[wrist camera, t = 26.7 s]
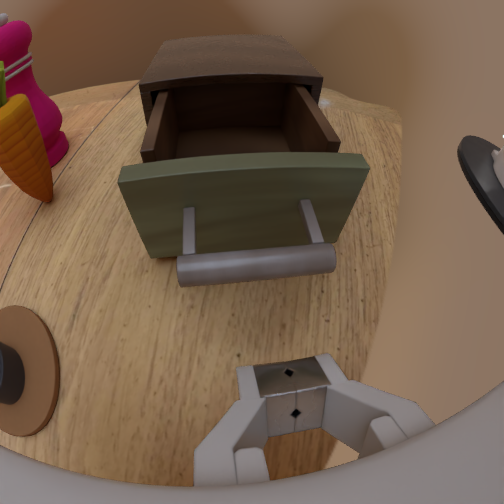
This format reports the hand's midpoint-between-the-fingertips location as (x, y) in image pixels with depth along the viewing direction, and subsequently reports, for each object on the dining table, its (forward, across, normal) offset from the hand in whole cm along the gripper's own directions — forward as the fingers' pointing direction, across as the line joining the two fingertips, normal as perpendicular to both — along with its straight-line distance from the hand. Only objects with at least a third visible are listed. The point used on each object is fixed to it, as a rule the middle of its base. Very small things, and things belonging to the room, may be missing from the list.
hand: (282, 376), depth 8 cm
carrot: (+17, +18, -7) cm, 26 cm away
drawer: (+14, 0, -5) cm, 15 cm away
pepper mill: (+23, +22, -13) cm, 34 cm away
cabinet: (+23, 0, -13) cm, 27 cm away
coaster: (+6, +18, +4) cm, 19 cm away
